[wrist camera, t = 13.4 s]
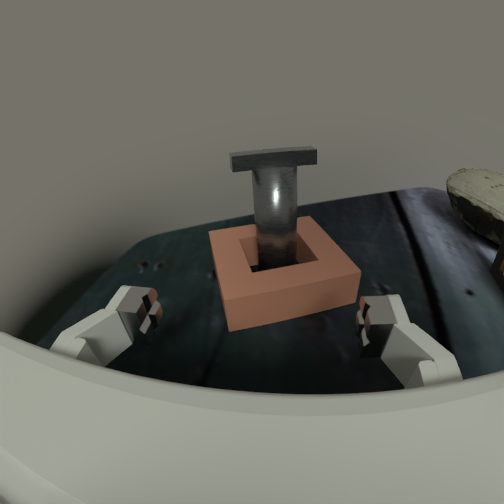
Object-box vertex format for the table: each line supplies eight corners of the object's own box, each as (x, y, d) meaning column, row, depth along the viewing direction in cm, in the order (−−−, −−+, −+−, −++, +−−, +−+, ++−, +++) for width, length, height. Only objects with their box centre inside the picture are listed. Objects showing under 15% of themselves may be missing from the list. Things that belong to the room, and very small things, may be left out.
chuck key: (304, 263, 27) (305, 143, 21) (316, 283, 24) (322, 152, 18) (240, 274, 26) (227, 150, 20) (246, 297, 23) (233, 159, 17)
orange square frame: (308, 242, 30) (309, 215, 28) (355, 302, 22) (361, 271, 20) (212, 258, 28) (208, 231, 27) (229, 331, 20) (223, 300, 18)
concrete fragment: (521, 258, 20) (452, 145, 25) (473, 284, 30) (421, 191, 35) (558, 216, 21) (503, 129, 26) (520, 244, 30) (474, 168, 36)
